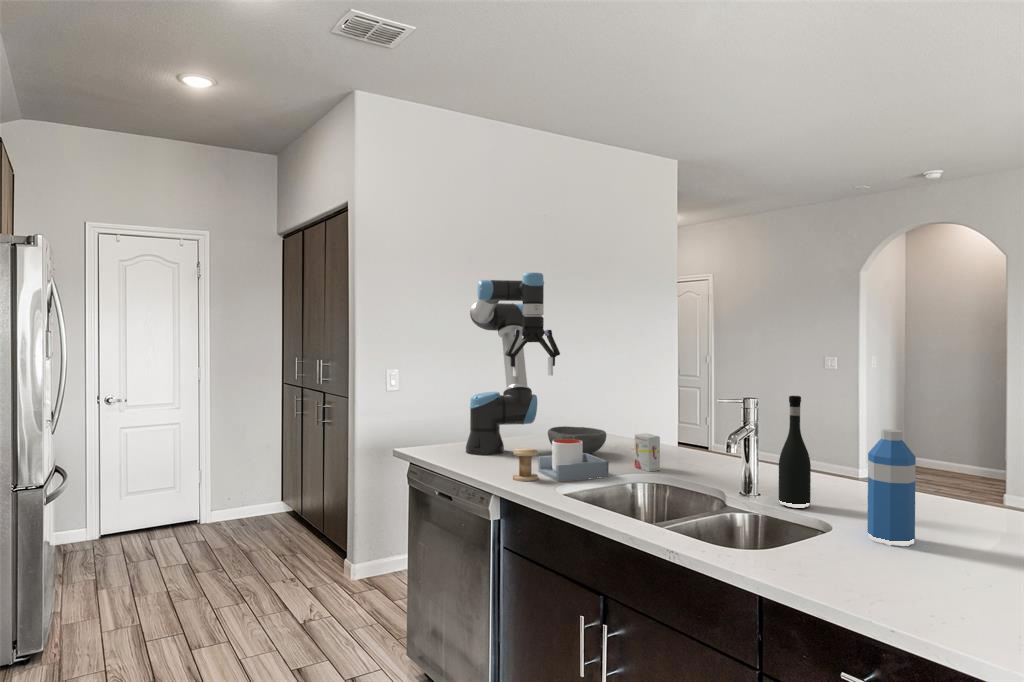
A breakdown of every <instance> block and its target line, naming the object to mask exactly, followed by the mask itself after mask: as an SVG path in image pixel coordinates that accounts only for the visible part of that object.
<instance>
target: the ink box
mask: <svg viewBox="0 0 1024 682" xmlns="http://www.w3.org/2000/svg"><path fill="white" fill-rule="evenodd" d="M660 442H661V437H660V436H659V435H656V434H652V433H648V432H645V433H644V432H643V433H637V434H634V468H635V467H636V469H638V470H642V471H646V472H649V473H650V472H658V471H657V470H661V459H660V458H661V455H660V454H661V443H660Z"/></svg>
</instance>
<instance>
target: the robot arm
mask: <svg viewBox="0 0 1024 682" xmlns="http://www.w3.org/2000/svg"><path fill="white" fill-rule="evenodd" d="M544 285H545V281H544V274H543V273H541V272H524V273H523V274H522V280H514V279H513V280H502V279H501V280H500V279H483V280H482V279H481V280H479V281H478V282H477V290H476V291H477V293H476V294H477V298H478V299H477V301H476V302H475V303H474V304H472V305H471V308H470V311H469V316H470V319H471V321H472V322H473V324H474V325H476V327H479V328H481V329H483V330H485V331H496V332H497V334H498V336H499V338H501V339H502V351H503V352H502V353H503V363H504V365H503V366H504V375H505V387H506V388H505V390H503V392H502V393H503V394H502V395H501V393H500V391H488V392H481V393H476V394H473V395H472V396H471V397H470V400H469V401H470V405H469V409H470V410H469V411H470V413H469V414H470V421H469V425H470V427H469V430H470V431H469V436H468V437H467V441H466V445H465V452H466V453H467V454H471V455H477V456H479V455H481V456H483V455H484V456H485V455H489V456H490V455H498V454H502V453H504V452H505V444H504V441H503V438H502V435H501V433H500V432H501V431H500V429H501V428H500V426H501V425H504V426H505V425H529V424H533V423H534V422H535V420H536V416H537V412H538V396H537V395H536V394H533V393H532V392H533V391H532V388H531V387H529V386H528V379H527V370H526V369H527V368H526V361H525V360H526V358H525V350H524V346H525V345H527V343H538V344H540V346H541V347H542V348H543V349H544V350H545V352H546V354H548V355H549V356H547V375H548V376H551V377H552V376H553V375H554V367H555V366H556V357H558V356H560V355H561V352H560V350H559V348H558V346H557V342H556V341H555V338H554V336H553V331H552V329H546V330H544V320H545V319H544V317H543V315H544V308H545V307H544V294H545V293H544V292H545V291H544ZM502 301H503V302H504V303H503V302H502ZM505 301H507V302H508V301H510V302H513V303H505ZM515 301H516V302H522V303H516V302H515ZM499 302H500V303H499ZM501 302H502V303H501ZM544 335H545V336H546V339H547V341H548V343H549V345H550V346H549V345H548V343H547V341H546V340H545V339H544Z"/></svg>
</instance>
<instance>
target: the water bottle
mask: <svg viewBox="0 0 1024 682" xmlns="http://www.w3.org/2000/svg"><path fill="white" fill-rule="evenodd" d="M880 433H881V434H880V439H878V441H877V442H876V443H875V445H874V446H873V447H872V448H871V449H870V450H869V452H868V453H867V532H868V533H869V534H871V535H872V536H873V537H876V538H881V539H885V540H889V541H910V540H912V539H915V540H916V535H915V534H916V460H917V458H916V455H915V454H914V452H912V450H911V449H910V447H908V446H907V444H906V443H905V442H904V440H903V431H902V430H900V429H899V430H898V429H893V428H892V429H887V428H884V429H881V430H880Z"/></svg>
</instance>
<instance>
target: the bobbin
mask: <svg viewBox="0 0 1024 682" xmlns="http://www.w3.org/2000/svg"><path fill="white" fill-rule="evenodd" d="M512 454H513V455H514V456H518V460H519V461H518V472H517V473H514V474H513V475H512V479H513V480H514V481H516V482H533V481H536V480H537V481H538V479H539V476H538V474H537V473H532V464H533V463H532V461H533V459H532V458H533V456H537V455H538V454H539V451H538V450H537V449H535V448H516V449H513V450H512Z"/></svg>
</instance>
